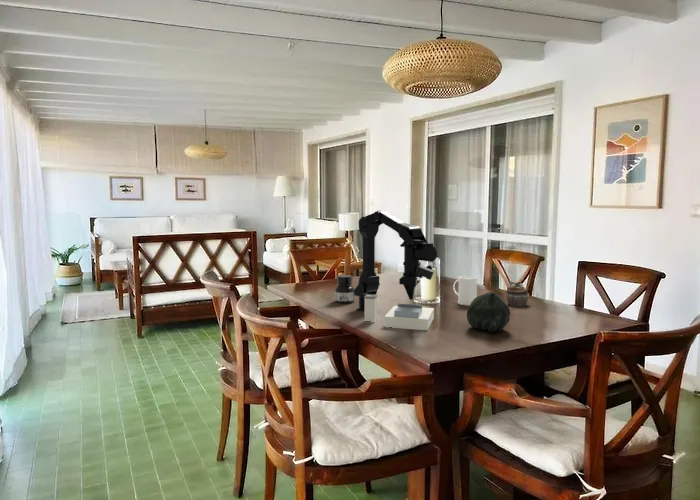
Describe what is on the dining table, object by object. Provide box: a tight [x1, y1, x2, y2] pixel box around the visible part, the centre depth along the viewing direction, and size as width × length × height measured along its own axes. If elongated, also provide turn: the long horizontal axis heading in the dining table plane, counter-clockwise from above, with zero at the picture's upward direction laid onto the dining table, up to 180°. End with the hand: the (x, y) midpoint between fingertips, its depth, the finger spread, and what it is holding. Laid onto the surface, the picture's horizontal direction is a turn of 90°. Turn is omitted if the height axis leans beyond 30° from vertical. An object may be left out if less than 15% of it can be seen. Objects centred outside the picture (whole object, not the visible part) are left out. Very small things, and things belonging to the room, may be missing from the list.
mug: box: [452, 275, 478, 306], centre depth 226 cm, size 12×8×12 cm
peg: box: [364, 294, 378, 323], centre depth 193 cm, size 4×4×10 cm
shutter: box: [394, 303, 423, 318], centre depth 187 cm, size 8×9×3 cm
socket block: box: [383, 305, 435, 331], centre depth 191 cm, size 19×16×4 cm
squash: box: [466, 291, 511, 333], centre depth 180 cm, size 14×15×15 cm
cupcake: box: [505, 281, 530, 307], centre depth 223 cm, size 10×10×10 cm
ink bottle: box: [334, 274, 355, 304], centre depth 228 cm, size 10×9×12 cm
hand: (411, 299), depth 191 cm, fingers closed
